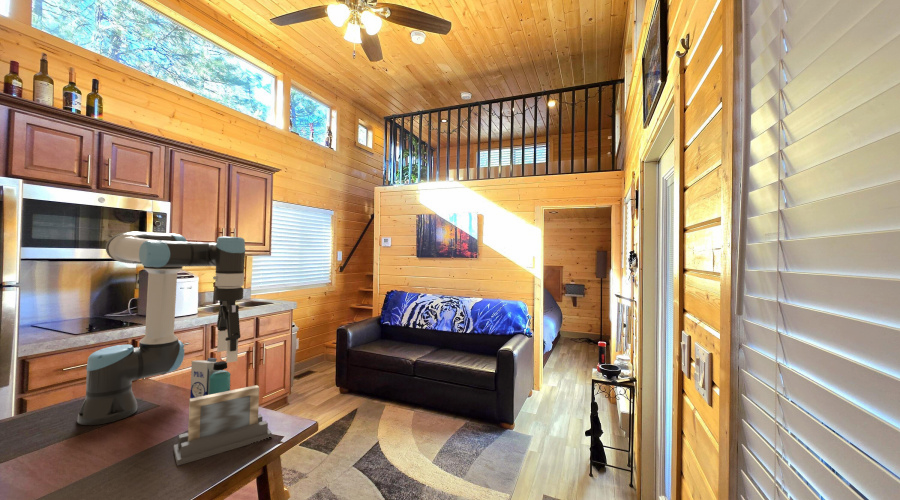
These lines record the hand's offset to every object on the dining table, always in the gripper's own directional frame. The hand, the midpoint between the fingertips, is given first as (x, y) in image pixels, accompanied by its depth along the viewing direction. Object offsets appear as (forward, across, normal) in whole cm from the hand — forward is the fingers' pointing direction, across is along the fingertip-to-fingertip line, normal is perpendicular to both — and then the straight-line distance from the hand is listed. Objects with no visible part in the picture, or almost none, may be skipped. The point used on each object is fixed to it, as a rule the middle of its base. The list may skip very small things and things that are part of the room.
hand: (226, 356), depth 110 cm
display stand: (+27, 0, 0) cm, 27 cm away
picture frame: (+25, 0, 0) cm, 25 cm away
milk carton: (+27, -26, -1) cm, 37 cm away
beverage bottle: (+27, -18, +2) cm, 33 cm away
